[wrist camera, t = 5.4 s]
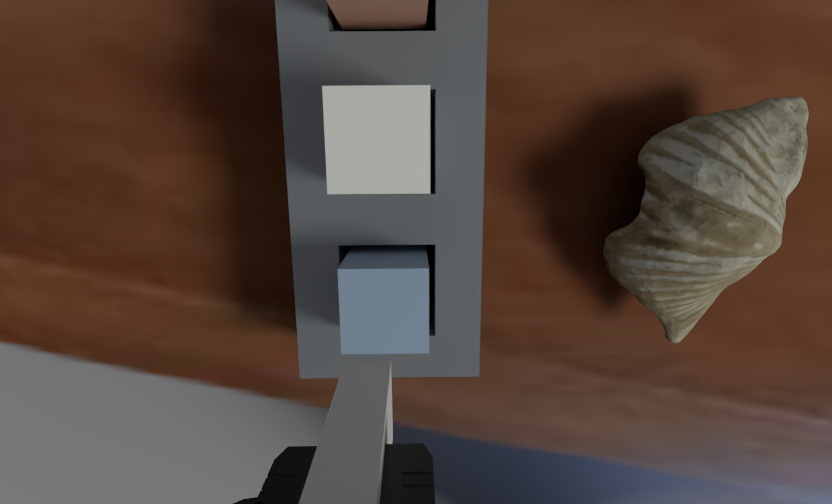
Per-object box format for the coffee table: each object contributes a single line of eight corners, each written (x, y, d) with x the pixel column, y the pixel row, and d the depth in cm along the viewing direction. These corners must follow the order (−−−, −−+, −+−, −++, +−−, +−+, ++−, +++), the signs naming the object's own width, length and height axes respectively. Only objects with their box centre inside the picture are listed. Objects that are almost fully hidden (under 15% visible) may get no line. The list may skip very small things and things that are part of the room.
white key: (345, 102, 26) (322, 85, 19) (425, 102, 26) (430, 84, 19) (348, 183, 27) (327, 194, 20) (425, 183, 27) (430, 193, 20)
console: (295, -90, 28) (264, -154, 22) (475, -91, 28) (491, -155, 22) (319, 339, 34) (300, 378, 28) (467, 337, 34) (479, 376, 28)
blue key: (354, 242, 30) (337, 269, 23) (425, 241, 30) (429, 268, 23) (357, 309, 31) (341, 354, 24) (425, 308, 31) (429, 353, 24)
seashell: (742, 364, 29) (781, 315, 21) (591, 319, 34) (575, 265, 26) (787, 176, 33) (835, 71, 24) (645, 160, 37) (646, 68, 29)
